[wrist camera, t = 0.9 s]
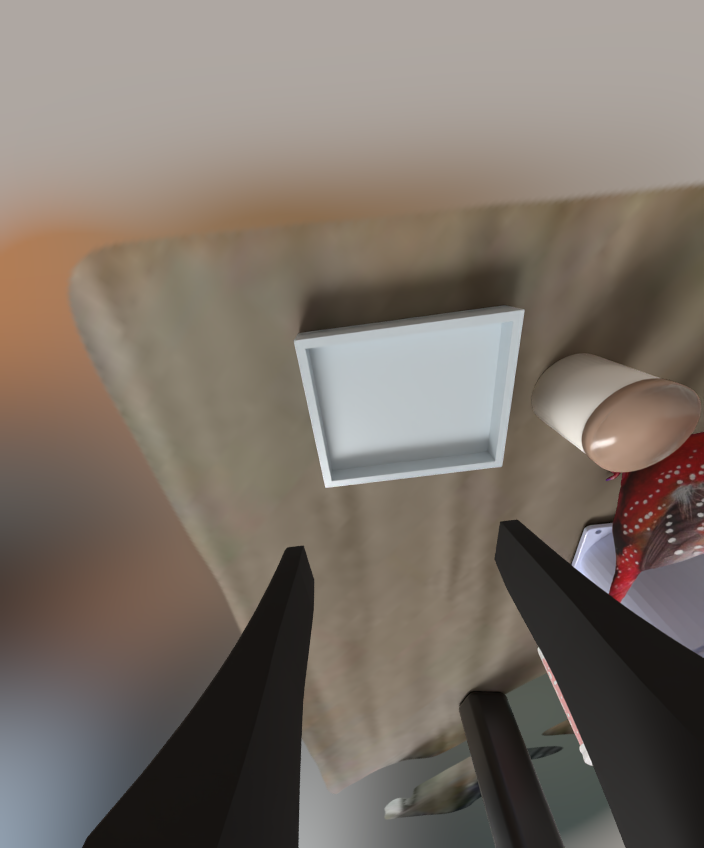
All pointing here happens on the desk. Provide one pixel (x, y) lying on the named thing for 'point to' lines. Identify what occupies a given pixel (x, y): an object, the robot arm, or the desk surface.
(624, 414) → the espresso cup
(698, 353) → the desk surface
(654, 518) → the decorative bird figurine
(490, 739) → the wine bottle
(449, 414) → the tray
